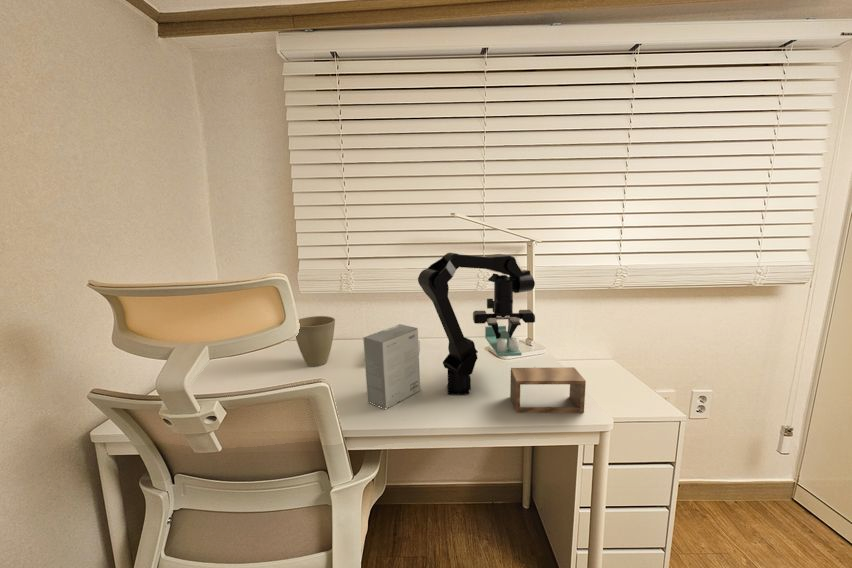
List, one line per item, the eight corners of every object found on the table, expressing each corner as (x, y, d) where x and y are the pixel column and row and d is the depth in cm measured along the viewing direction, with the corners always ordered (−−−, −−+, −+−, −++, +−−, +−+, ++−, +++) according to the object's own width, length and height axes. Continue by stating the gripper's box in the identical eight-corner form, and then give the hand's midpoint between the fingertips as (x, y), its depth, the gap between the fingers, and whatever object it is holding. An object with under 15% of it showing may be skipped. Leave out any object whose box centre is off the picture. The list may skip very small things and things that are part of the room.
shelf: (515, 412, 105) (516, 381, 103) (510, 396, 114) (510, 367, 112) (584, 412, 104) (585, 380, 102) (572, 396, 113) (574, 367, 111)
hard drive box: (402, 384, 124) (400, 323, 120) (421, 390, 119) (419, 327, 115) (366, 402, 112) (362, 336, 109) (384, 410, 107) (381, 341, 104)
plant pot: (341, 365, 140) (339, 323, 137) (298, 373, 134) (295, 329, 131) (332, 353, 153) (330, 313, 150) (293, 359, 147) (289, 318, 144)
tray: (485, 337, 134) (485, 323, 133) (505, 336, 134) (505, 322, 133) (498, 356, 116) (498, 340, 115) (521, 355, 117) (521, 339, 116)
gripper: (527, 289, 129) (526, 334, 132) (471, 290, 130) (471, 335, 132) (536, 296, 118) (534, 345, 121) (474, 297, 119) (474, 346, 121)
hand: (503, 342), depth 124 cm, fingers closed on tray, 3 cm apart
